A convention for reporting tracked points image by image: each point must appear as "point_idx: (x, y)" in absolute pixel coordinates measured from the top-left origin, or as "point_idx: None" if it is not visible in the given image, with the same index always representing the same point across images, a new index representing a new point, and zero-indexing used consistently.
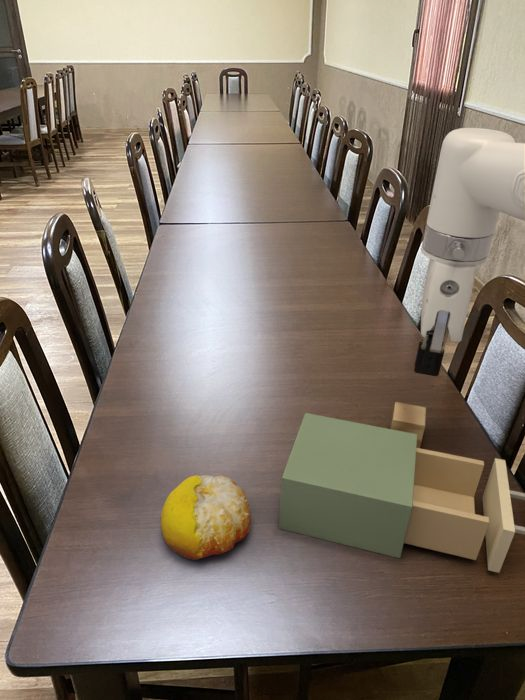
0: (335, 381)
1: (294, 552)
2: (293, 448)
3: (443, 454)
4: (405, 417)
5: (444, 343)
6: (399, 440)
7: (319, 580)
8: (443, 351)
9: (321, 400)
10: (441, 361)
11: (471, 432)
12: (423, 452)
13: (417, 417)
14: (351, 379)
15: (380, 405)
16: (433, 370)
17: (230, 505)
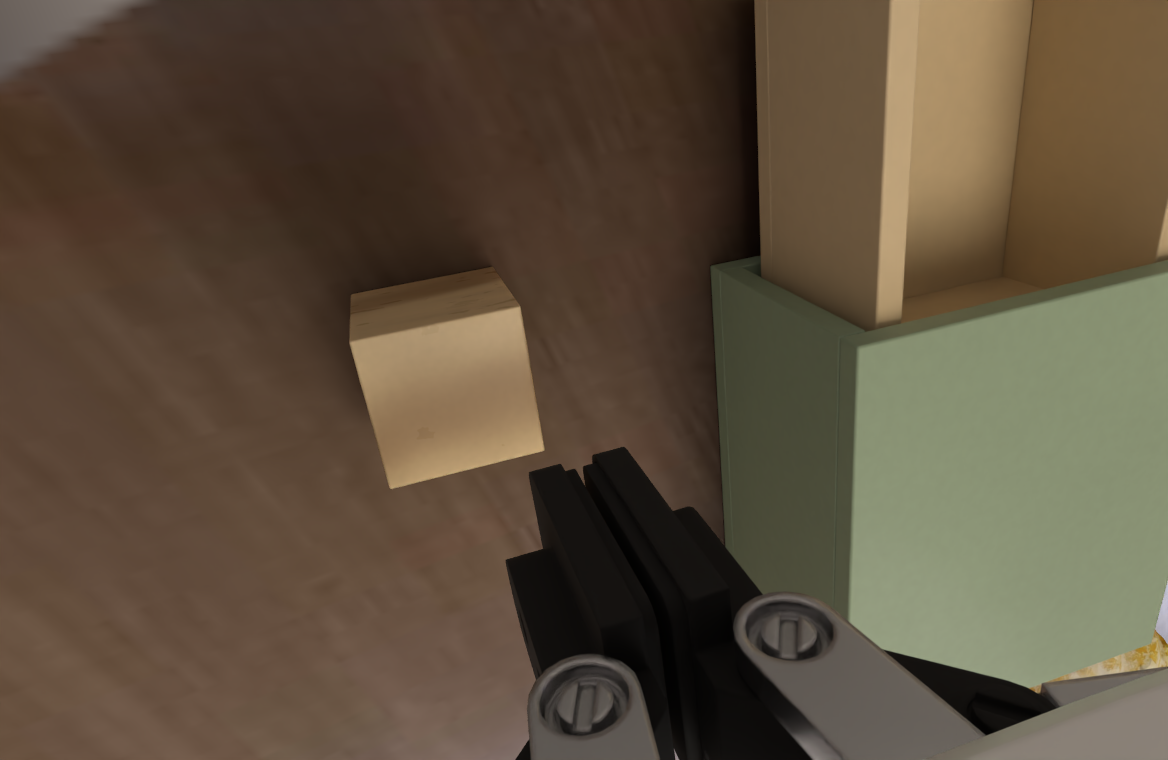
0: (197, 726)
1: None
2: (1031, 684)
3: (893, 188)
4: (499, 408)
5: (922, 695)
6: (921, 405)
7: None
8: (725, 593)
9: (375, 699)
10: (674, 519)
11: (198, 36)
12: (903, 280)
13: (467, 357)
14: (127, 687)
15: (258, 508)
16: (692, 510)
17: (1117, 664)
